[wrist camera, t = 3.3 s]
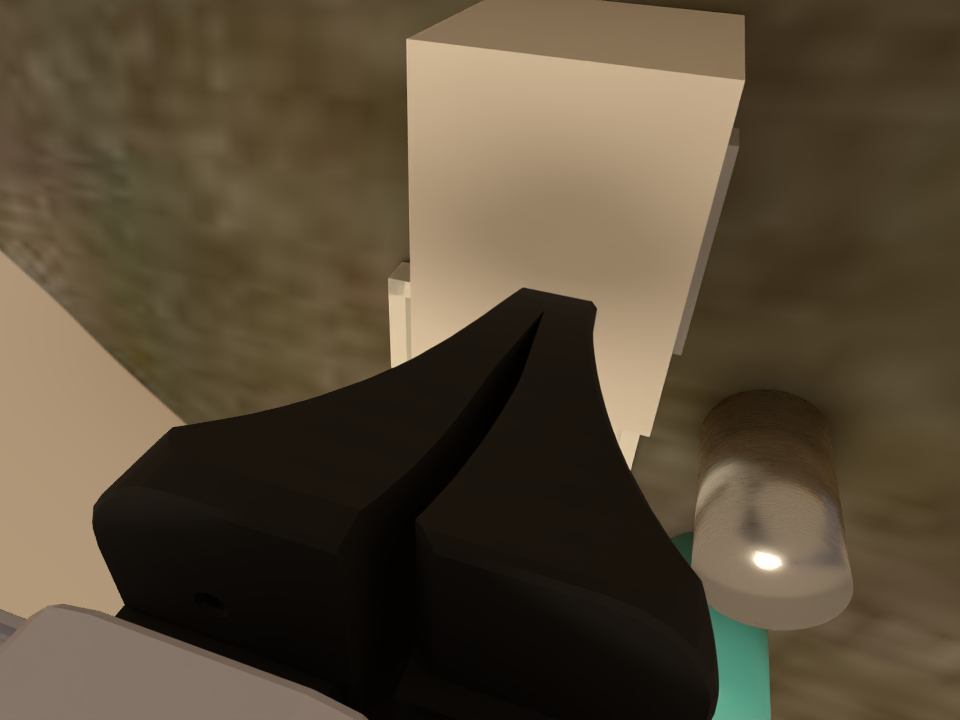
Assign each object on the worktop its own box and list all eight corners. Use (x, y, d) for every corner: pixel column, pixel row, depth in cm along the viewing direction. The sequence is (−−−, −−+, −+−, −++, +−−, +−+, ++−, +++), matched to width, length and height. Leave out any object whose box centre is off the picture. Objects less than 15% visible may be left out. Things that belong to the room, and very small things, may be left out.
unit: (757, 16, 16) (764, 82, 11) (681, 302, 21) (662, 439, 16) (488, -12, 18) (385, 36, 13) (475, 262, 22) (397, 376, 17)
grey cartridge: (849, 406, 21) (878, 556, 17) (806, 493, 24) (821, 646, 19) (717, 378, 22) (710, 513, 17) (689, 465, 24) (676, 604, 20)
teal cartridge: (779, 548, 25) (787, 700, 21) (749, 610, 28) (750, 759, 23) (671, 520, 26) (655, 659, 22) (651, 582, 29) (632, 720, 24)
